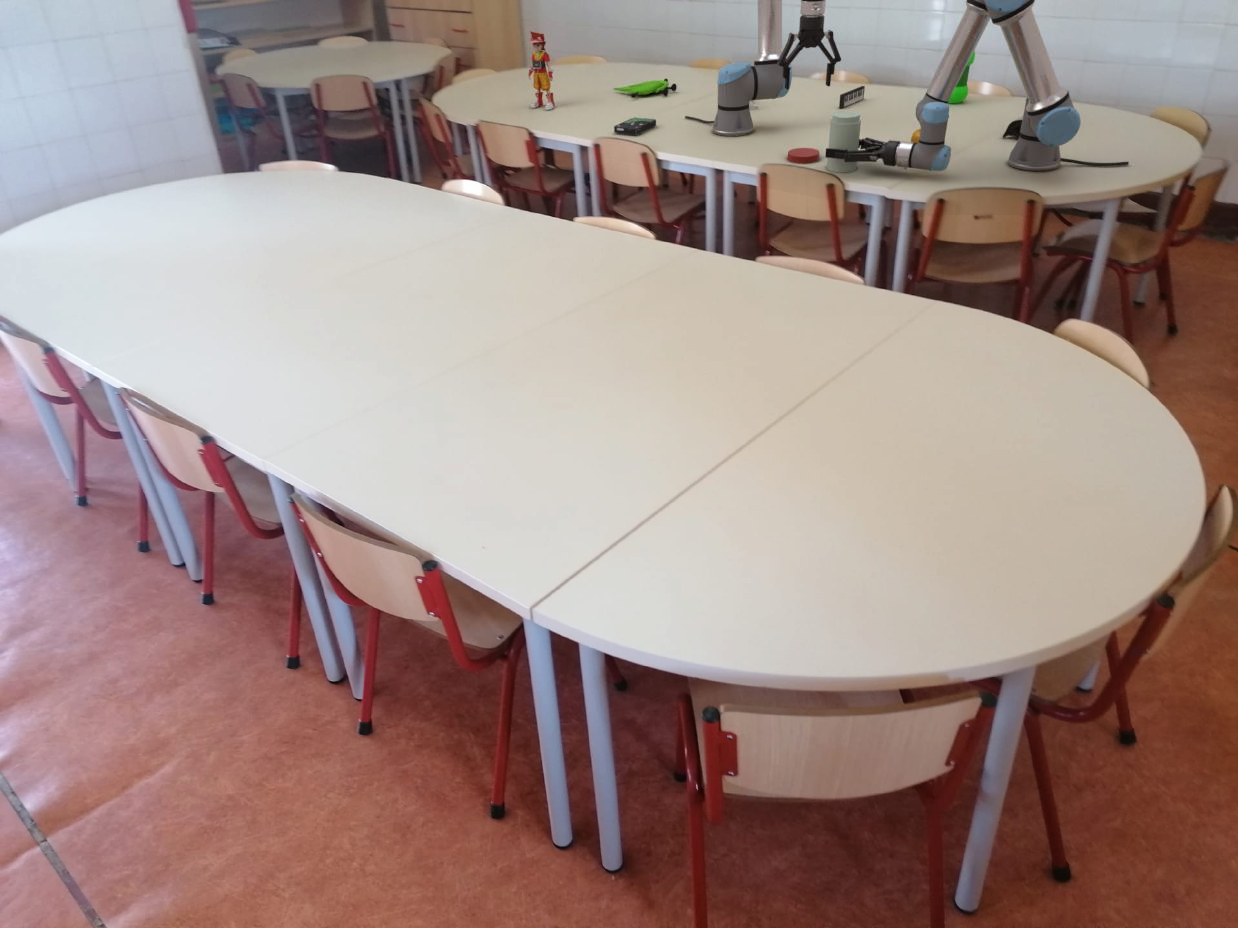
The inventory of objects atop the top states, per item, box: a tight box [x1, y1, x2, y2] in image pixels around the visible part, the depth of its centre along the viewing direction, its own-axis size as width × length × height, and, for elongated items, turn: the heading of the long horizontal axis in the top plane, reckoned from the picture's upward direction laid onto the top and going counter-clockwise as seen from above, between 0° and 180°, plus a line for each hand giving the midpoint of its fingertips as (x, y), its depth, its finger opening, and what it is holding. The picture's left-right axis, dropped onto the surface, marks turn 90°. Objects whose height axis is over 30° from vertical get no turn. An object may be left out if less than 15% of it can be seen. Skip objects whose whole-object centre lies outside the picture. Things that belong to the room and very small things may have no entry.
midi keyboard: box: [838, 85, 866, 109], centre depth 359 cm, size 18×1×5 cm, turn 138°
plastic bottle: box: [948, 49, 976, 104], centre depth 348 cm, size 10×10×25 cm
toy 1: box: [527, 31, 556, 111], centre depth 374 cm, size 12×9×30 cm
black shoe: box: [1002, 115, 1023, 140], centre depth 316 cm, size 30×9×10 cm
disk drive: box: [613, 116, 657, 136], centre depth 344 cm, size 10×3×15 cm
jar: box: [826, 110, 862, 173], centre depth 289 cm, size 9×9×17 cm
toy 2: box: [612, 78, 677, 99], centre depth 396 cm, size 28×5×30 cm
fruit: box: [910, 128, 921, 143], centre depth 303 cm, size 8×8×8 cm
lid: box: [787, 147, 821, 164], centre depth 303 cm, size 10×10×2 cm
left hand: (807, 87), depth 291 cm, fingers open, 13 cm apart
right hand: (833, 147), depth 291 cm, fingers open, 13 cm apart
